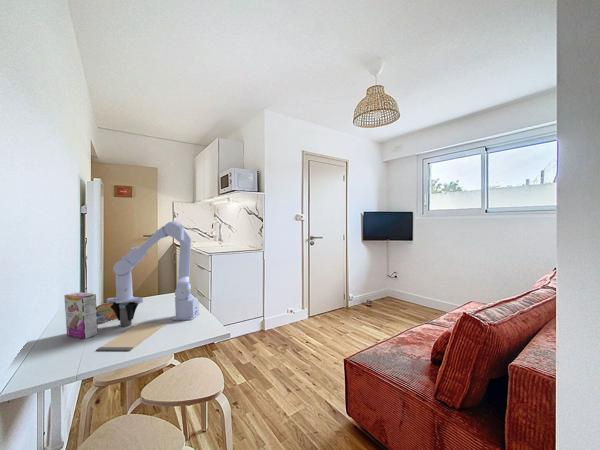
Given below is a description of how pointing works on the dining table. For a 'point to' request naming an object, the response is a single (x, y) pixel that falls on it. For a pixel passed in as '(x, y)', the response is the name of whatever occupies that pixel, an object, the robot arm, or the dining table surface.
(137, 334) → the notepad
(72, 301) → the candy bar box
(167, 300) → the dining table surface
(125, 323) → the blue grey cylinder
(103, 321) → the tin
